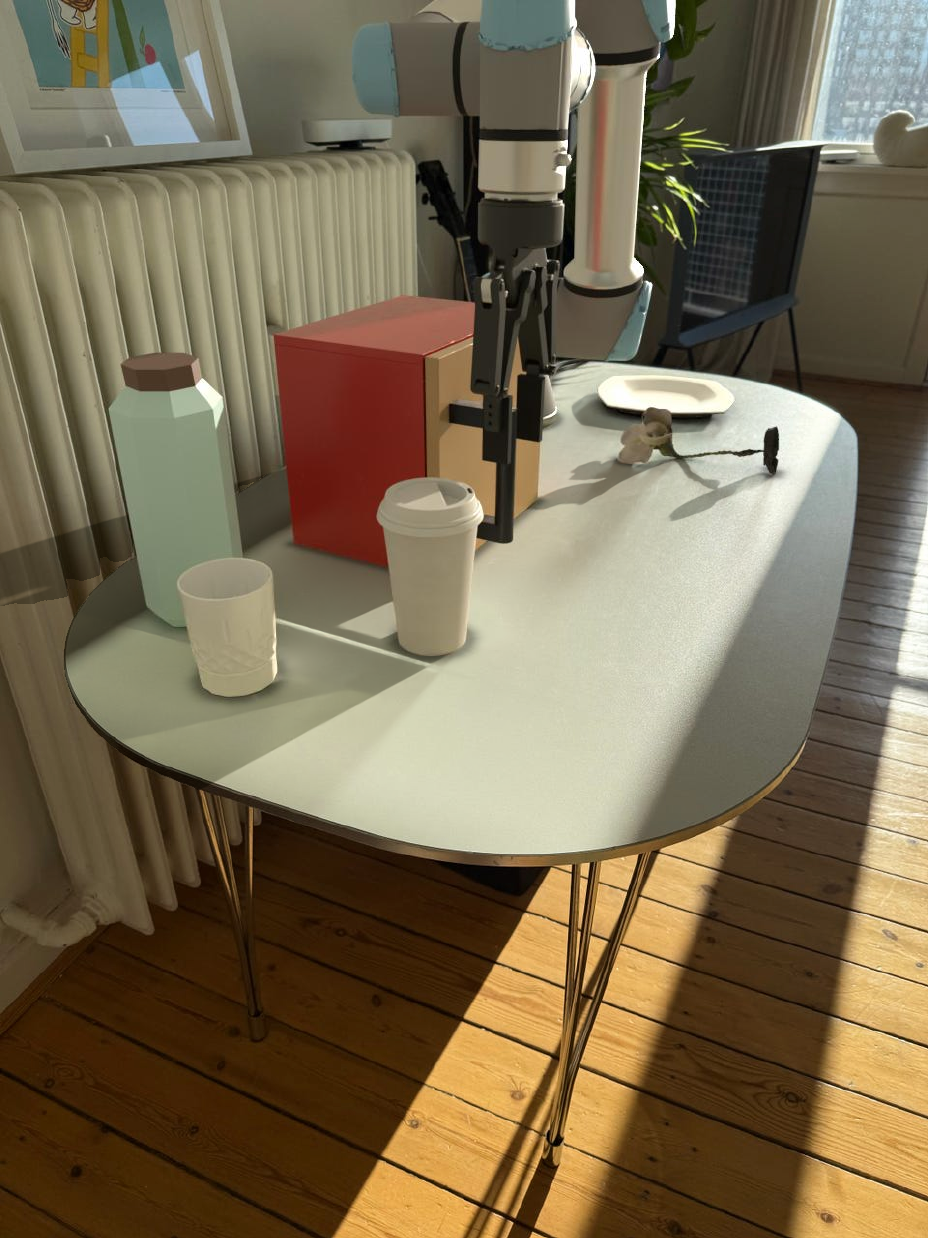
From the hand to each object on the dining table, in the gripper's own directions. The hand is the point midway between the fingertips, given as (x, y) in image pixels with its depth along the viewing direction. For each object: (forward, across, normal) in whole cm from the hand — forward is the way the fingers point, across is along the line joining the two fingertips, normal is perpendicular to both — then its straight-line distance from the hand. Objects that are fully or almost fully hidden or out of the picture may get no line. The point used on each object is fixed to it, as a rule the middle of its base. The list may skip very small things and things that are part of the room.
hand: (513, 449), depth 90 cm
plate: (+15, +74, +6) cm, 76 cm away
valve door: (+15, +10, +4) cm, 18 cm away
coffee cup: (+15, -14, +2) cm, 21 cm away
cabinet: (+15, +10, +18) cm, 25 cm away
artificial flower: (+15, +46, -8) cm, 49 cm away
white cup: (+15, -28, +14) cm, 35 cm away
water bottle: (+15, -20, +26) cm, 36 cm away
